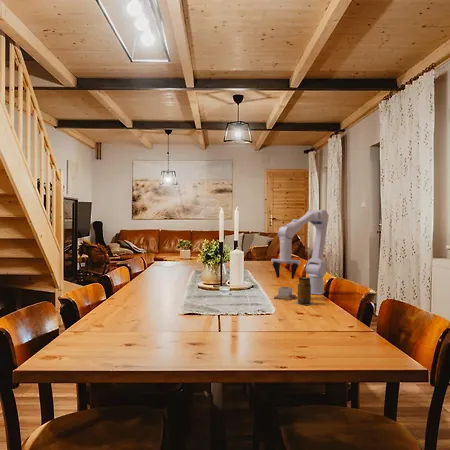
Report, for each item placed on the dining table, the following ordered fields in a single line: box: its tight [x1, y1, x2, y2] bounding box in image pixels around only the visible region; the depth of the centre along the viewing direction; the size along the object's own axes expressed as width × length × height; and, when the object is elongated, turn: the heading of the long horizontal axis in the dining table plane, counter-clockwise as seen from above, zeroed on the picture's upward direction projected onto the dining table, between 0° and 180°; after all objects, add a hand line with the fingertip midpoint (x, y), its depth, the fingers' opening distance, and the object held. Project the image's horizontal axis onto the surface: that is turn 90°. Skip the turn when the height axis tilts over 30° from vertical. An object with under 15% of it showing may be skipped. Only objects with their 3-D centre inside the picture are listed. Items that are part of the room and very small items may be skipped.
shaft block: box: [273, 294, 297, 301], centre depth 224 cm, size 10×8×4 cm
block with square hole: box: [277, 286, 293, 297], centre depth 224 cm, size 5×5×4 cm
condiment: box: [293, 276, 317, 306], centre depth 210 cm, size 7×8×12 cm
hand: (285, 278), depth 224 cm, fingers open, 7 cm apart
